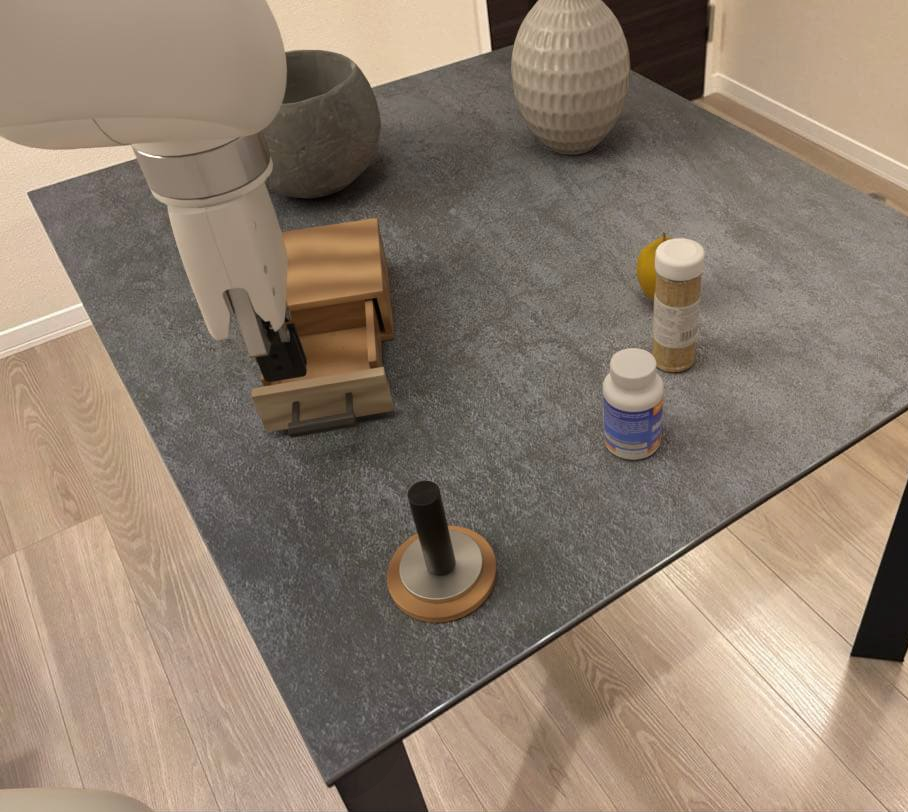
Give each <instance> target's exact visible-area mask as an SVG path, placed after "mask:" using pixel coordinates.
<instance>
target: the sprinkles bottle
mask: <svg viewBox="0 0 908 812" xmlns="http://www.w3.org/2000/svg"><path fill="white" fill-rule="evenodd" d="M705 261H706V250H705V249H704V247H703V246H702V245H701V244H700V243H699V242H697V241H695V240H692V239H689V238H683V237H682V238H681V237H679V238H678V237H677V238H673V239H670V240H667V241H665V242H663V243H661V244H660V245H659V246H658V247H657V249H656V253H655V269H656V289H655V295H654V301H653V318H652V320H653V321H652V336H653V337H652V350H651V354H652V355H653V356H654V358H655V360H656V368H658V369H659V370H662V371H663V372H667V373H681V372H684V371H686V370H688V369H689V368H691V367H692V366H693V365H694V363H695V360H696V353H695V349H696V341H697V340H696V339H697V336H698V328H699V318H700V305H701V296H702V295H701V285H702V284H701V283H702V275H703V272H704V270H705Z"/></svg>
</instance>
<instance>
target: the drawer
mask: <svg viewBox="0 0 908 812" xmlns="http://www.w3.org/2000/svg"><path fill="white" fill-rule="evenodd" d="M290 315H291V322H287V323H286V324H291V323H294V324H295V327H296V330H297V332H298V335H299V338H300V341H301V344H302V347H303V350H304V353H305V355H306V358H307V365H306V368H307V373H306V375H305V376H303V377H298V378H292V379H286V380H280V381H274V382H267V381H265V380H264V378H263V375H262V374H261V379H260V380H261V382H262V385H263V386H259V387H252V388H251V400H252V402H253V404H254V407H255V409H256V411H257V414H258V416H259V419H260V421H261V423H262V426H263V428H264V430H265V432H266V433H270V432H277V431H283V430H287V431H288V436H289V437H290V438H291V439H294V438H299V437H304V436H310V435H311V436H312V435H316V434H321V433H326V432H327V433H328V432H334V431H341V430H344V429H352V428H356V427H357V426H358V422H357V418H358V417H365V416H369V415H371V416H372V415H377V414H382V413H388V412H394V411H395V410H394V401H393V397H392V393H391V389H390V385H389V381H388V377H387V374H386V369H385V367H384V366H383V365H384V363H383V350H382V349H383V348H382V341H381V333H380V324H379V320H378V316H377V312H376V308H375V304H374V299H373V298H372V299H365V300H359V301H353V302H346V303H340V304H334V305H327V306H321V307H315V308H308V309H302V310H295V311H290Z"/></svg>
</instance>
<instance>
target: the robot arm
mask: <svg viewBox="0 0 908 812" xmlns="http://www.w3.org/2000/svg"><path fill="white" fill-rule="evenodd" d="M284 45H285V44H284V41H283V38H282V34H281V31H280V28H279V25H278V23H277V20H276V18H275V16H274V13H273V12H272V10H271V8H270V5H269V3H268V2H267V0H0V137H1V138H3V139H5V140H6V141H8V142H11V143H13V144H17V145H19V146H23V147H27V148H31V149H40V150H51V151H63V150H64V151H65V150H79V149H96V148H97V149H98V148H110V147H111V148H112V147H113V148H114V147H126V146H131V149H132V151H133V153H134V155H135V158H136V160H137V162H138V165H139V167H140V170H141V171H142V174H143V176H144V178H145V180H146V183H147V185H148V187H149V189H150V192H151V194H152V196H153V197H154V198H155V199H156V200H157V201H158V202H160V203H162V204H163V205H164V204H165V205H166V207H167V208H166V209H167V214H168V218H169V221H170V226H171V229H172V233H173V237H174V240H175V244H176V246H177V250H178V252H179V256H180V259H181V262H182V265H183V267H184V271H185V273H186V276H187V279H188V281H189V283H190V286H191V289H192V292H193V295H194V297H195V299H196V302H197V305H198V308H199V310H200V313H201V315H202V318H203V320H204V323H205V325H206V329H207V330H208V333H209V335H210V337H212V338H213V339H214V340H215V341H218V342H220V341H223V340H228V339H229V338H230V337H229V336H230V328H231V320H232V315H235V318H236V320H237V324H238V326H239V330H240V333H241V336H242V339H243V342H244V345H245V348H246V352H247V355H248V357H249V358H250V359H254V358H255V360H256V363H257V366H258V368H259V370H260V373H261V376H262V375H263V378H264V380H265V381H267V382H274V381H280V380H286V379H292V378H298V377H303V376H305V375H306V373H307V368H306V365H307V358H306V355H305V353H304V350H303V347H302V344H301V341H300V338H299V335H298V332H297V330H296V327H295V324H294V323H291V324H286V323H287V322H291V315H290V310H289V307H288V304H287V301H286V293H287V270H288V262H287V252H286V247H285V243H284V239H283V235H282V232H283V231H282V228H281V226H280V223H279V219H278V216H277V213H276V210H275V208H274V204H273V202H272V199H271V196H270V194H269V190H267V188H266V185H265V181H266V179H267V178H268V177H269V176H270V174H271V172H272V169H273V162H272V159H271V156H270V153H269V149H268V146H267V143H266V140H265V137H264V133H263V129H264V128H266V127H267V126H268V125H269V124H270V123H271V122H272V121H273V119H274V118H275V117H276V115H277V113H278V111H279V110H280V107H281V105H282V102H283V99H284V94H285V89H286V80H287V65H286V55H285V52H286V49H285V46H284ZM0 812H156V811H155V810H154V809H153V808H151V807H150V806H149V805H148V804H147V803H145V802H143V801H141V800H140V799H137V798H136V797H133V796H130V795H126V794H125V793H120V792H115V791H112V790H111V791H110V790H104V789H96V788H95V789H94V788H82V787H80V788H79V787H55V786H53V787H51V786H49V787H47V786H45V787H44V786H43V787H22V788H21V787H20V788H0Z"/></svg>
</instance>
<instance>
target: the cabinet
mask: <svg viewBox="0 0 908 812" xmlns="http://www.w3.org/2000/svg"><path fill="white" fill-rule="evenodd" d="M380 229H381V228H380V225H379V220H378V218H377V217H373V218H367V219H360V220H354V221H346V222H340V223H334V224H327V225H319V226H313V227H306V228H299V229H293V230H287V231H281V232H282V235H283V239H284V243H285V247H286V252H287V262H288V270H287V293H286V301H287V304H288V307H289V310H290V311H295V310H302V309H308V308H315V307H321V306H327V305H334V304H340V303H346V302H353V301H359V300H365V299H372V298H373V299H374V304H375V308H376V312H377V316H378V320H379V324H380V333H381V342H386V341H391V340H395V329H394V320H393V308H392V297H391V286H390V276H389V265H388V260H387V256H386V250H385V246H384V242H383V238H382V233H381V230H380Z"/></svg>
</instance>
